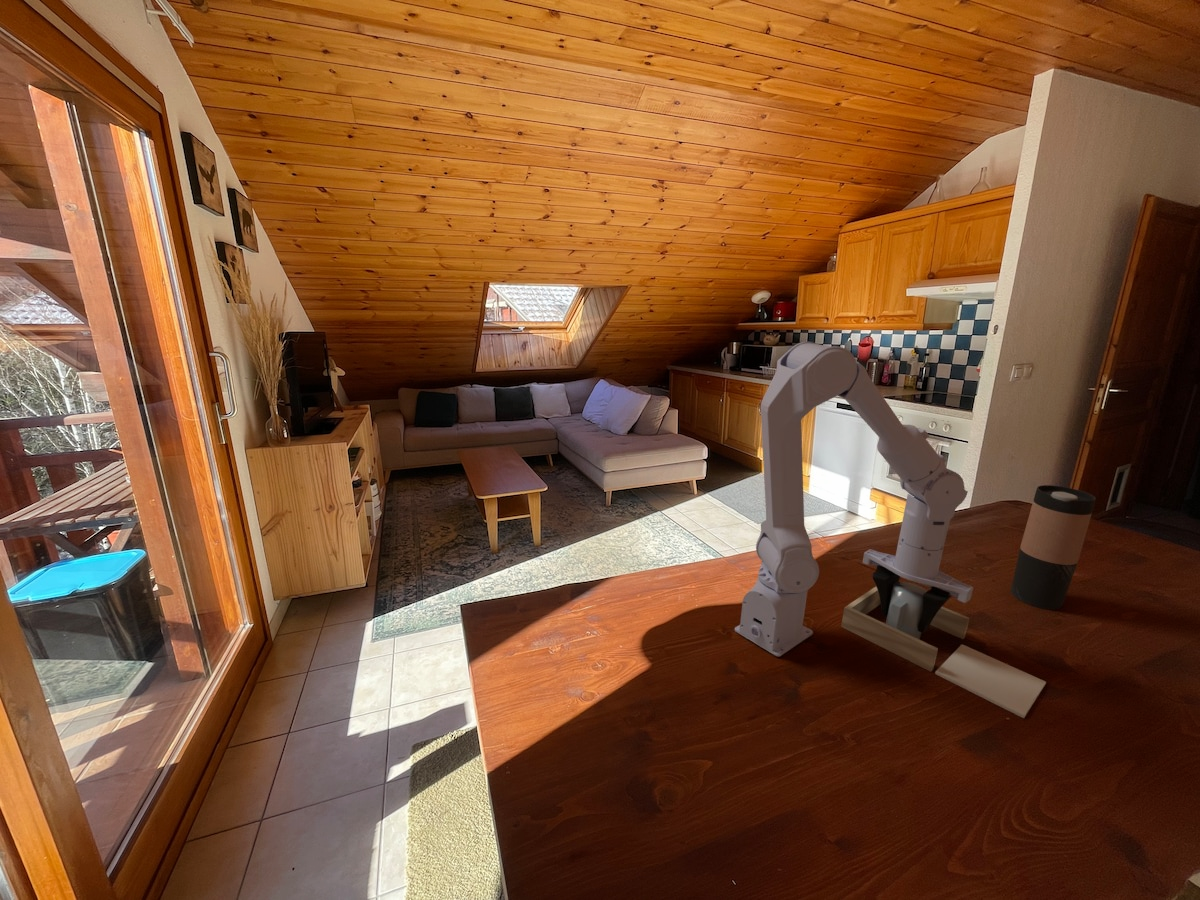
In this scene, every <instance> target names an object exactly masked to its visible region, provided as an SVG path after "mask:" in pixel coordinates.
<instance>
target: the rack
mask: <svg viewBox="0 0 1200 900" xmlns="http://www.w3.org/2000/svg"><path fill="white" fill-rule="evenodd" d="M878 606H881V602H880V596H879V592H878V589H877V587H876V586H875V587H873V588H871V589H870V590H869V591H867V592H865V593H864V594H862V595H861V596H858V598H856V599H855V600H853V601H852V602H850V603H848V605H846V606H844V607H843V608H844V609H843V614H842V619H841V620H842V621H841V628H843V629H845V630H847V631H849V632H850V633H853V634H855V635H857V636H859V637H861V638H862V639H865V640H867V641H869V642H871V643H873V644H875V645H876V646H879V647H880V648H883V649H885V650H887V651H889V652H890V653H893V654H895V655H897V656H898V657H901V658H903V659H905V660H907V661H909V662H911V663H912V664H914V665H917V666H919V667H920V668H922V669H925V670H926V671H929V672H933V671H934V668H935V663H936V659H937V655H938V652H939V651H938V650H939V648H938V647H936V646H934V645H931V644H930V643H928V642H925V641H923V640H921V639H917V638H915V637H913V636H911V635H908V634H906V633H904V632H902V631H900V630H898V629H895V628H893V627H891V626H889V625H887V624H886V622H883V621H880V620H878V619H876V618H874V617H872V616H870V615H868V614H869V613H870V612H872V611H873V610H874V609H876V608H877V607H878ZM969 623H970V617H968V616H966V615H963V614H962V613H960V612H957V611H954V610H951V609H950V608H946V607H944V606H942V607H941V608H940V609H939V611H938V612H937V613H936V615H935V616H934V618H933V620H932V622H931V624H930V626H932V627H934V628H936V629H938V630H941V631H943V632H946V633H947V634H951V635H952V636H955V637H957V638H959V639H962V640H964V639H965V638H966V635H967V630H968V626H969Z"/></svg>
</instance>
